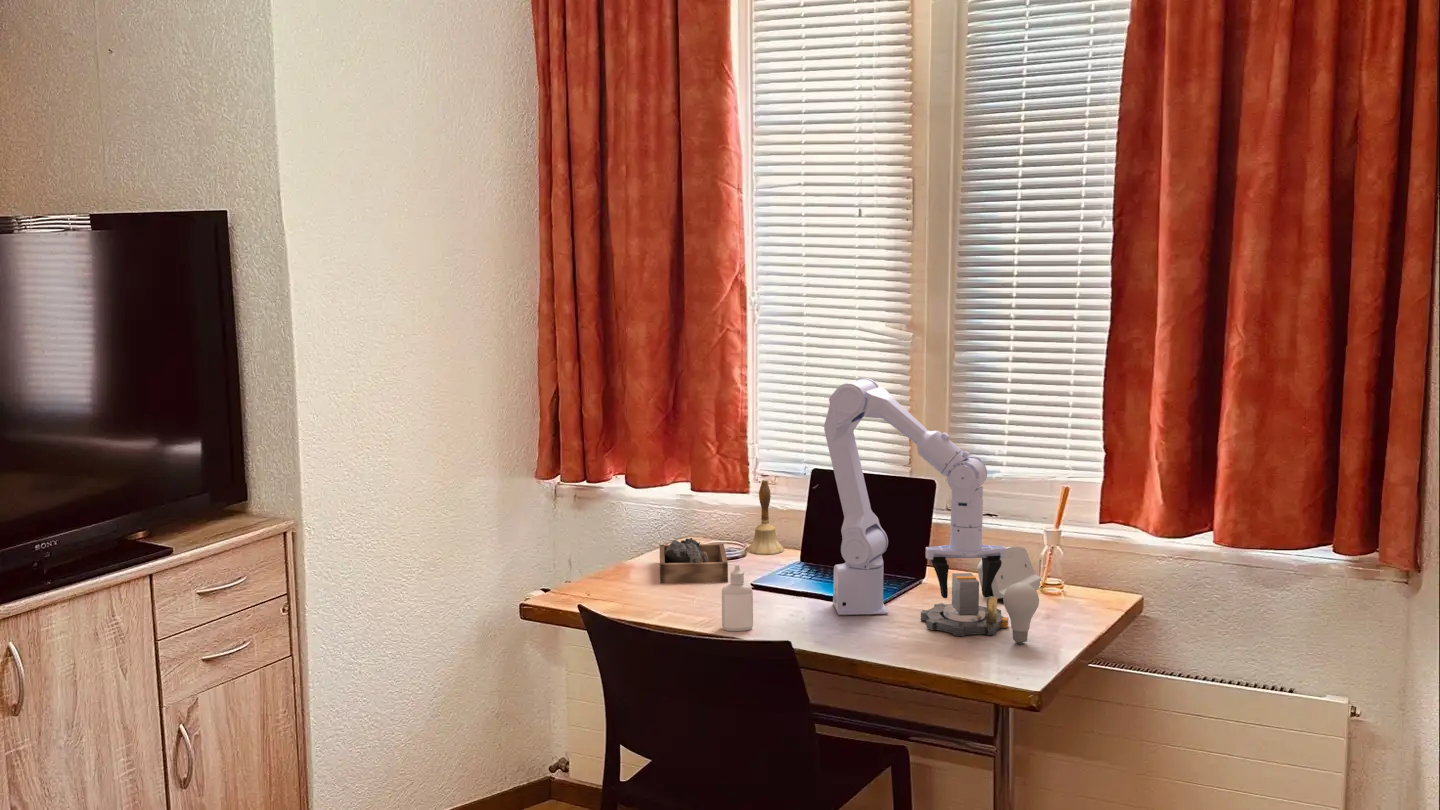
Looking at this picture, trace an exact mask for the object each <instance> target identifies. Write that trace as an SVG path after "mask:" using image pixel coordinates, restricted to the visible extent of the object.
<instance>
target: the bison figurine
mask: <svg viewBox="0 0 1440 810" xmlns="http://www.w3.org/2000/svg"><path fill="white" fill-rule="evenodd" d="M699 544H701V541H699V542H698V541H697V540H696V539H693V538H692V537H690V538H686V539H682V540H680V541H678V540H676V539H675V540H672V542H671V543H669V544H668V545H669V546H668V548H667V550H666V552H665V553H664V555H665V563H704V562H709V561H708V557H707V553H706V552H704V551H702V552H701V551H700V547H699Z"/></svg>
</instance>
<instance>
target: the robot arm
mask: <svg viewBox="0 0 1440 810" xmlns="http://www.w3.org/2000/svg"><path fill="white" fill-rule="evenodd" d="M828 403H829V406H828V410H827V413H826V418H825V421H824V425H823V428H824V435H825V440H826V443H827V447H828V451H829V452H828V453H829V456H830V461H831V465H832V469H833V473H834V478H835V482H836V486H837V487H836V488H837V491H838V495H839V501H840V504H841V509H842V512H843V513H842V514H843V522H842V525H841V529H840V532H841V536H842V537H841V539H842V540H841V544H840V553H841V557H842V558H843V560H844V561H845V562H844V563H839V564H835V565H834V566H833V586H832V587H833V595H832V604H833V606H834V608H835V611H836V613H837V615H839V616H851V615H887V614H888V613H889V611H888V608H887V607H886V606H885V604H884V559H883V554H884V553H885V552H886V551H887V548H888V546H889V539H888V535H887V533H886V531H885V530H884V529H883V528H882V526H881V523H880V519H879V518H878V516H877V515H876V514H875V512H873V510H872V508H871V503H870V498H869V494H868V490H867V486H866V481H865V476H864V472H863V468H862V464H861V463H862V462H861V459H860V454H859V451H858V446H857V442H856V438H855V433H854V432H855V429H856V427H857V426H858V425H859V424H860V423H861V421H862V419H863V418H868V419H870V418H872V419H883V420H884V421H886V422H887V423H888V424H889V425H891V426H892V428H894V429H896V430H897V431H898V432H900V433H901V434H902V435H904V436H905V437H906V438H908V439H909V440H911V442H913V443H914V444H915V445H916V449H917V454H918V456H919V457H921V458H922V459H924V461H926V462H927V463H928V464H929V465H930V466H932V467H933V469H935V470H936V471H937V472H938V473H940V474H941V475H942V476H944V477H945V478H946V481H947V485H948V487H949V488H950V489H951V499H950V534H949V535H950V537H949V539H950V540H949V544H946V545H945V544H944V545H938V546H926V547H925V558H926V560H928V561H930V562H931V564H932V567H933V568H934V571H935V574H936V577H937V580H938V583H939V590H940V596H941V597H942V598H943V599H948V591H949V590H948V589H949V588H948V577H949V570H950V569H949V568H950V565H949V564H948V560H947V559H981V560H982V568H983V580H982V589H981V595H982V597H983V596H984V597H988V596H989V592H990V588H991V585H992V582H993V580H994V578H995V576H996V574H997V572H998V570H999V569H1000V567H1001V564H1002V561H1001V560H1000V558H1006V548H1005V547H1006V546H1004V545H991V544H983V519H984V516H983V514H984V513H983V512H984V499H983V497H984V494H983V493H984V491H983V489H984V486H982V485H983V484H984V483H985V481H986V480H987V477H988V469H987V466H986V464H985V463H984V462H983V461H982V460H981V458H979V457H978V456H973V455H970V454H971V453H970V452H969V451H967V450H962V448H960V447H959V446H957V445H956V444H955V443H954V442H953V441H952V440H951V439H950V437H951V435H950V434H948V433H947V432H945V431H944V432H941V431H940V430H928V429H927V428H926V427H925V426H924V425H923V424H922V423H921V422H920V421H919V420H918V419H916V418H915V416H914V415H912V414H911V413H910V412H909V411H908V410H907V409H906V408H905V407H904V406H902V404H901V403H899V402H898V401H897V400H896V399H895V398H894V397H893V396H892V395H891V394H890V392H889V391H888V390H887V389H885V388H884V387H882V386H879V384H878V383H877V382H876V381H875V380H873V379H871V378H868V377H862V378H859V379H857V380H855V381H852V382H846V383H843V384H841V385H839V386H837V388H836V389H835V390H834V391H833V393H832V394H831V395H830V396H829V398H828Z"/></svg>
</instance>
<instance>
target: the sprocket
mask: <svg viewBox="0 0 1440 810" xmlns="http://www.w3.org/2000/svg"><path fill="white" fill-rule="evenodd" d="M951 604H952V603H949V604H948V603H947V604H945V603H942V602H941V603H940V602H939V603H935V604H934V606H933V607H932V608H929V609H926V610H925V609H921V611H920V621H925V622H926V625H925V626H926V628H927V629H928V630H931V631H941V632H946V633H949V634H953V636H957V637H959V636H960V637H965V635H968V636H969V635H986V636H991V635H992V636H993V635H997V631H998V630H1000V629H1002V628H1003V629H1004V628H1005V629H1006V628H1007V629H1008V627H1009V617H1008V616H1007V617H1005V616H1003V615H1002V609H999V608H998V599H997V597H994V596H988V597H987V601H986V606H982V605H979V606H980V607H982V608H984V609H985V620H984V621H982V622H968V623H960V622H956V621H951V620H947V619H944V618H943V611H944V607H945V606H948V605H951Z"/></svg>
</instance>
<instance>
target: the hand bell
mask: <svg viewBox="0 0 1440 810" xmlns="http://www.w3.org/2000/svg"><path fill="white" fill-rule="evenodd" d="M758 499H759V504H760V508H761V518H760V519H761V523H760V524H758V525H757V526H755V529H754V530H755V531H754V537H753V540H752V542H751V544H750V545H749V546H748V547H747V549H746V550H747V552H749V553H750V554H753V555H761V556H763V555H764V556H768V555H778V554H780V553H782V552H784V551H785V549H784V547H783V545H782V544H781V543H780V542H779V540H778V538H777V537H778V536H777V534H776V527H775V526H774V525H772V524H770V517H769V516H770V515H769V507H770V503H771V489H770V486H769V483H768V480H762V481H761V484H760V488H759V490H758Z"/></svg>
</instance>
